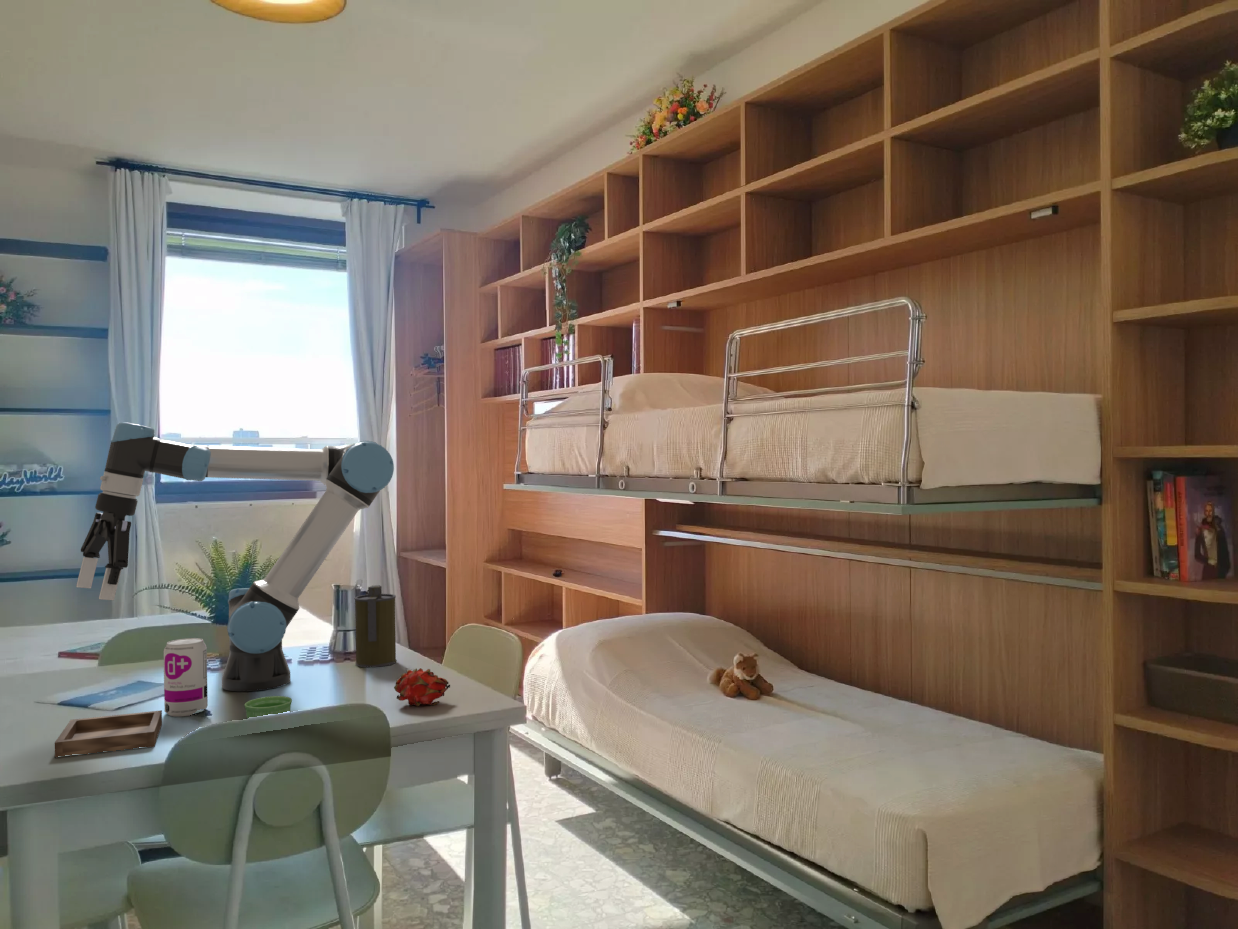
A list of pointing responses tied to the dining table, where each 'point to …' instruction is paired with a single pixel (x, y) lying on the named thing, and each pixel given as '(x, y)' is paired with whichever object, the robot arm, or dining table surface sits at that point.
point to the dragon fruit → (420, 687)
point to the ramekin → (267, 706)
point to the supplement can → (185, 676)
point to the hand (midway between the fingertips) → (94, 593)
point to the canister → (375, 628)
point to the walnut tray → (109, 733)
